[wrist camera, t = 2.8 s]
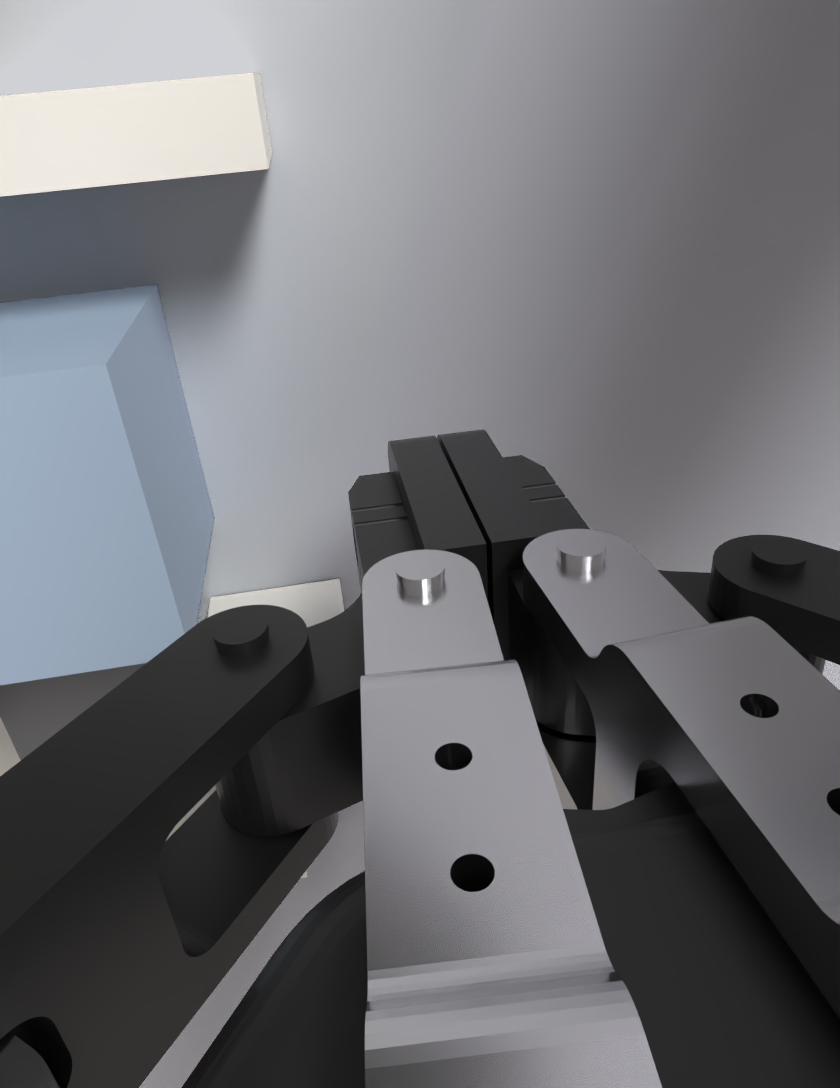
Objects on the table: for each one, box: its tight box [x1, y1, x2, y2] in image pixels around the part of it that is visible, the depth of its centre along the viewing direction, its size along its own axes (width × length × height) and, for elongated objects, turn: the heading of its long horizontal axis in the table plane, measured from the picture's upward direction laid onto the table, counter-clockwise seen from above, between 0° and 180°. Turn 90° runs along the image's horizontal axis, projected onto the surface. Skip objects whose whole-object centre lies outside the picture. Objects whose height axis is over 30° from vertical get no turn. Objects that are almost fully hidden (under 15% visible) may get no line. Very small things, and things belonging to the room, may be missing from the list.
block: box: [0, 284, 214, 685], centre depth 14 cm, size 5×5×5 cm
